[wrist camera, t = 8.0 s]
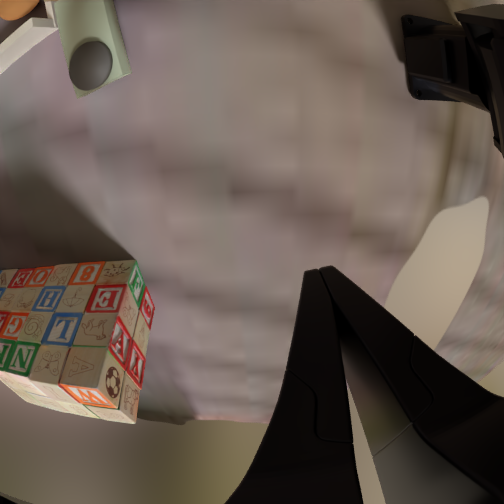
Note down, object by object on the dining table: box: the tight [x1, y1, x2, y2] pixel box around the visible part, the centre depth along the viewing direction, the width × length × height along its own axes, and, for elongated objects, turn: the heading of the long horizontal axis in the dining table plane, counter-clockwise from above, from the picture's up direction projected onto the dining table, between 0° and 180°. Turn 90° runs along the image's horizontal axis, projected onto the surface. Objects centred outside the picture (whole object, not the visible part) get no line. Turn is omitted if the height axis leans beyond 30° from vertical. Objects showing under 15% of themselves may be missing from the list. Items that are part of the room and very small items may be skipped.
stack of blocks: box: [0, 260, 155, 424], centre depth 19 cm, size 21×6×12 cm, turn 92°
